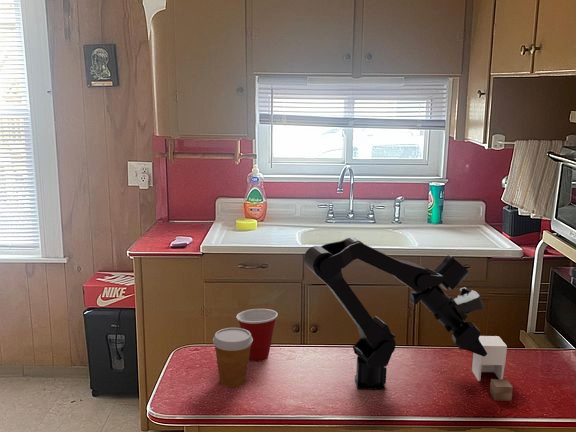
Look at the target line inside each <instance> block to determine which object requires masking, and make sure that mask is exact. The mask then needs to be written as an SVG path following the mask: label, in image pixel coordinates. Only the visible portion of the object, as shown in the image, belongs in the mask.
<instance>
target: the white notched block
mask: <svg viewBox="0 0 576 432" xmlns="http://www.w3.org/2000/svg"><path fill="white" fill-rule="evenodd" d="M479 341H480V342H481V344H482V346H483V347H484V349H485V351H486V352H487V355H486V356H485V357H483V356H481V355H478V354H476V353H473V352H472V353H473V354H472V364H471V365H472V366H471V372H472V374H473V375H474V376H475V378H476V380H477V381H478V382H481V380H482V377H481V376H482V373H494V374H495V376H496V377H497V379H504V373H505V371H504V370H505V366H506V363H507V362H506V361H507V359H506V358H507V350H508V346H507V344H506V343H505V342H504V341H503V339H502V338H501V337H500V336H499V335H498V336H497V335H493V336H492V335H480V336H479Z"/></svg>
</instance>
